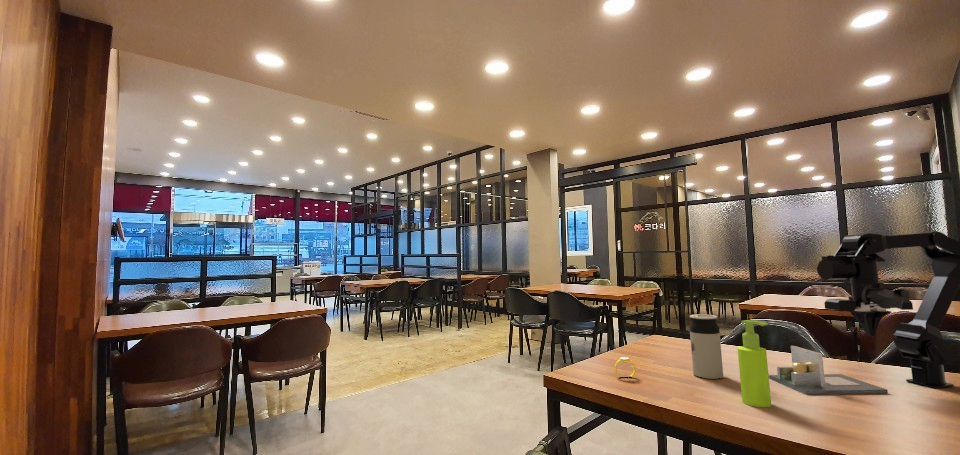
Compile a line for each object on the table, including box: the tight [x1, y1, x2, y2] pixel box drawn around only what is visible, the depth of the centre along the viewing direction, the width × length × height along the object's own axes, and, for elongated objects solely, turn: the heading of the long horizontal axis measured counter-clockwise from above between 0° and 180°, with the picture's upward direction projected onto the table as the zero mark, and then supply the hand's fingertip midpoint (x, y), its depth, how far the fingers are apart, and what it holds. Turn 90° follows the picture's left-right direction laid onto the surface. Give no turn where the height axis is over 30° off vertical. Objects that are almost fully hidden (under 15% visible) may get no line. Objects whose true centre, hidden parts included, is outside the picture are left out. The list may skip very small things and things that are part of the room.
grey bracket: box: [776, 345, 826, 387], centre depth 109 cm, size 6×10×8 cm, turn 177°
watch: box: [614, 356, 637, 378], centre depth 121 cm, size 6×3×6 cm, turn 80°
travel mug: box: [689, 313, 724, 380], centre depth 121 cm, size 8×8×18 cm
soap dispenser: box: [737, 319, 772, 408], centre depth 97 cm, size 6×7×20 cm
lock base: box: [768, 362, 889, 396], centre depth 108 cm, size 20×14×6 cm
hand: (871, 336), depth 108 cm, fingers closed
